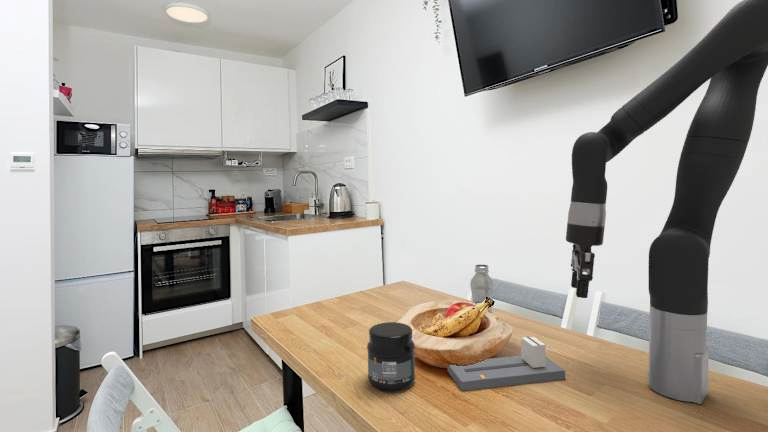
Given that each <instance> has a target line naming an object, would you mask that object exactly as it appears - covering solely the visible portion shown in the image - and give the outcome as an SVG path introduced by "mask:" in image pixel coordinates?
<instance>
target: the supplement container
mask: <svg viewBox="0 0 768 432" xmlns="http://www.w3.org/2000/svg"><path fill="white" fill-rule="evenodd" d="M368 339H369V341H368V342H367V344H366V345H367V346H366V350H367V370H368V375H367V378H368V379H367V380H368V383H369V384H370V385H371V387H372V388H374V389H376V390H377V391H381V392H384V393H399V392H402V391H405V390H407V389H409V388H410V387H412V385H413V384H414V383H415V381H416V380H415V379H416V372H415V368H416V367H415V365H416V364H415V349H416V345H415V342H414V340H413V328H412V327H411V326H410V325H408V324H406V323H403V322H396V321H395V322H394V321H389V322H381V323H377V324H374V325H373V326H371V327H370V328H369V330H368Z"/></svg>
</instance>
